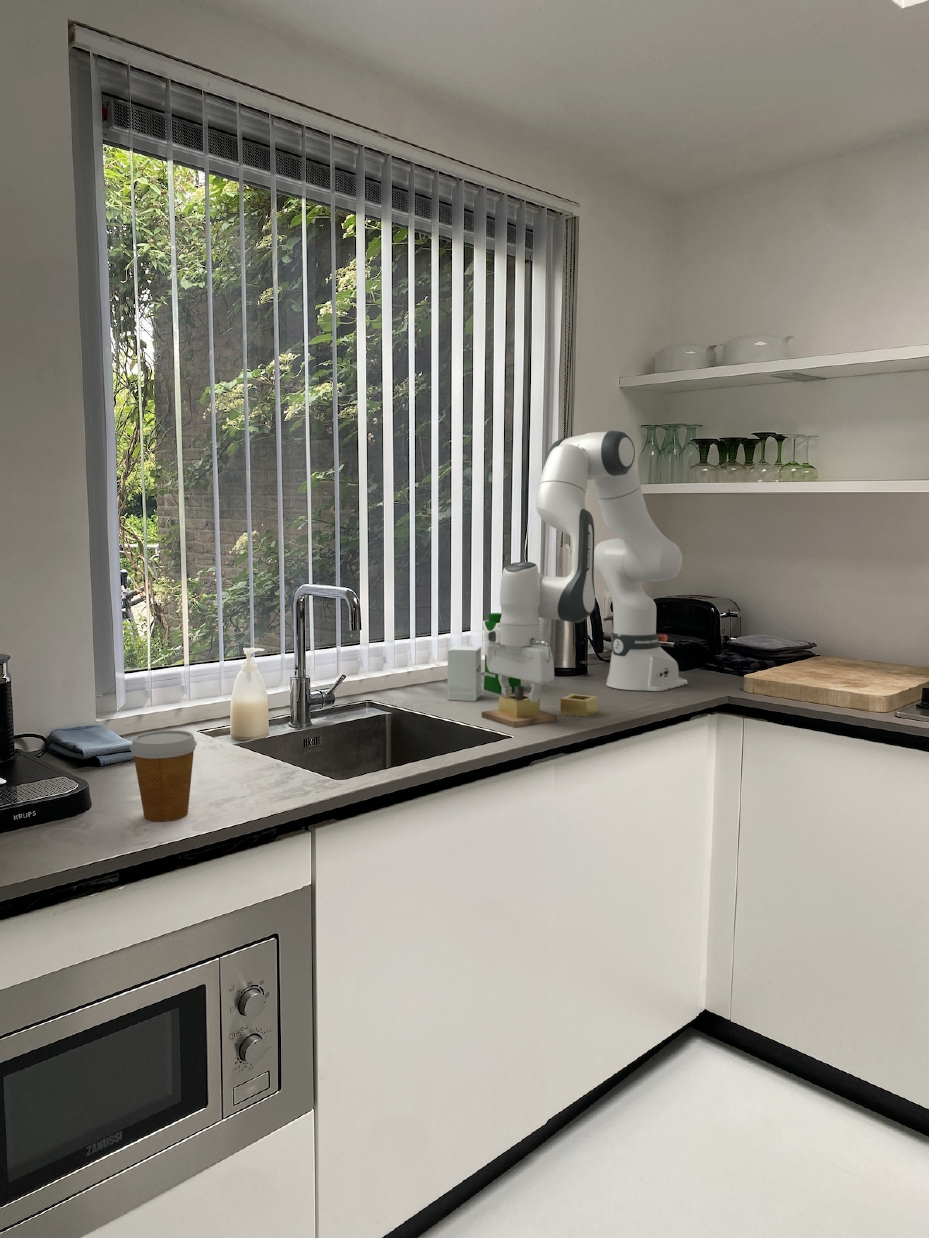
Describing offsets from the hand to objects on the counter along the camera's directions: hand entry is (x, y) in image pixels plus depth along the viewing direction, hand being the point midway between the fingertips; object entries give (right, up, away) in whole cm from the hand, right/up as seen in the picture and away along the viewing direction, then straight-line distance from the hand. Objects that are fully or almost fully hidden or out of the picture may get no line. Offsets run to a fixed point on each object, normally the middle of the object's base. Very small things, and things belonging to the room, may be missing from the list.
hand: (519, 698), depth 201 cm
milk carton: (-2, -1, +34) cm, 34 cm away
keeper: (0, -5, 0) cm, 5 cm away
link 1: (0, -3, 0) cm, 3 cm away
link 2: (+14, -4, +6) cm, 16 cm away
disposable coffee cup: (-57, -12, -65) cm, 87 cm away
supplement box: (-12, -2, +23) cm, 27 cm away
